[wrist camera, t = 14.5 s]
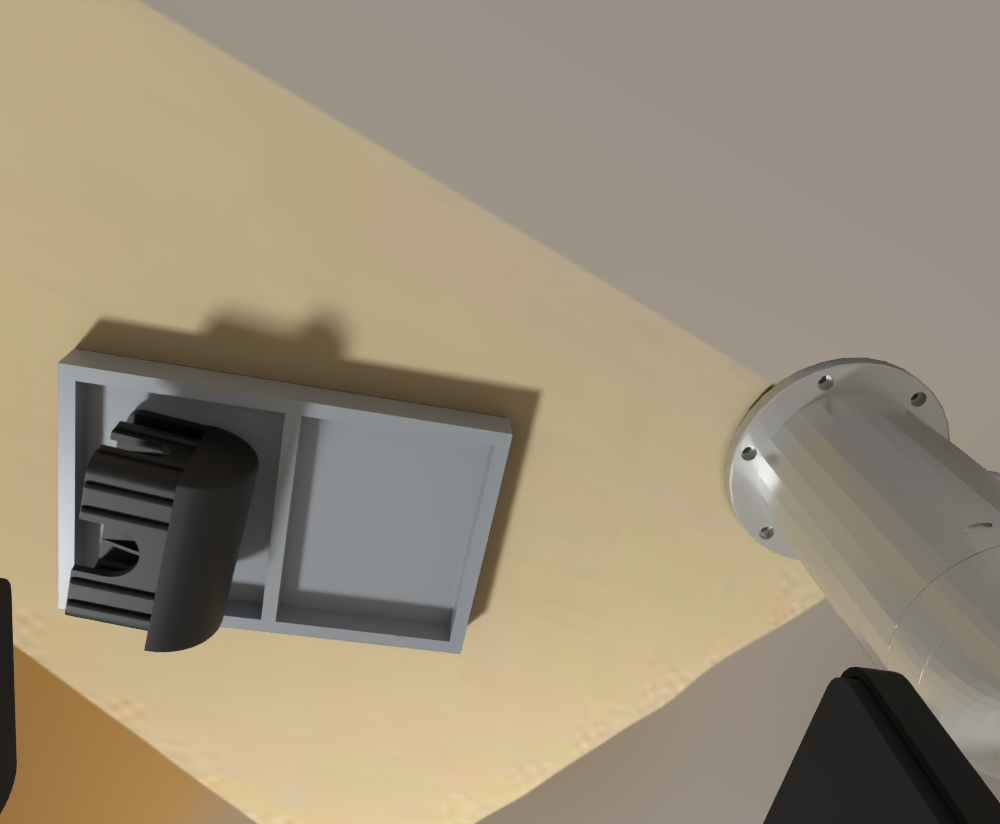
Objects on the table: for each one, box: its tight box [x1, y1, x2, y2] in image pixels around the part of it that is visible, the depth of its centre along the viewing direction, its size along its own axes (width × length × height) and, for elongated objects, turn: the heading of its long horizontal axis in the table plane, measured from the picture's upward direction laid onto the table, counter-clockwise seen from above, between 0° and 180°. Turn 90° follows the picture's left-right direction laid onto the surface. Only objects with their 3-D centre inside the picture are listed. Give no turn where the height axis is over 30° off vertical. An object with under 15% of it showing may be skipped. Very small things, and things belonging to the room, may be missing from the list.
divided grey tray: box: [58, 349, 513, 654], centre depth 45 cm, size 22×15×2 cm, turn 78°
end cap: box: [65, 410, 259, 652], centre depth 42 cm, size 10×7×7 cm
